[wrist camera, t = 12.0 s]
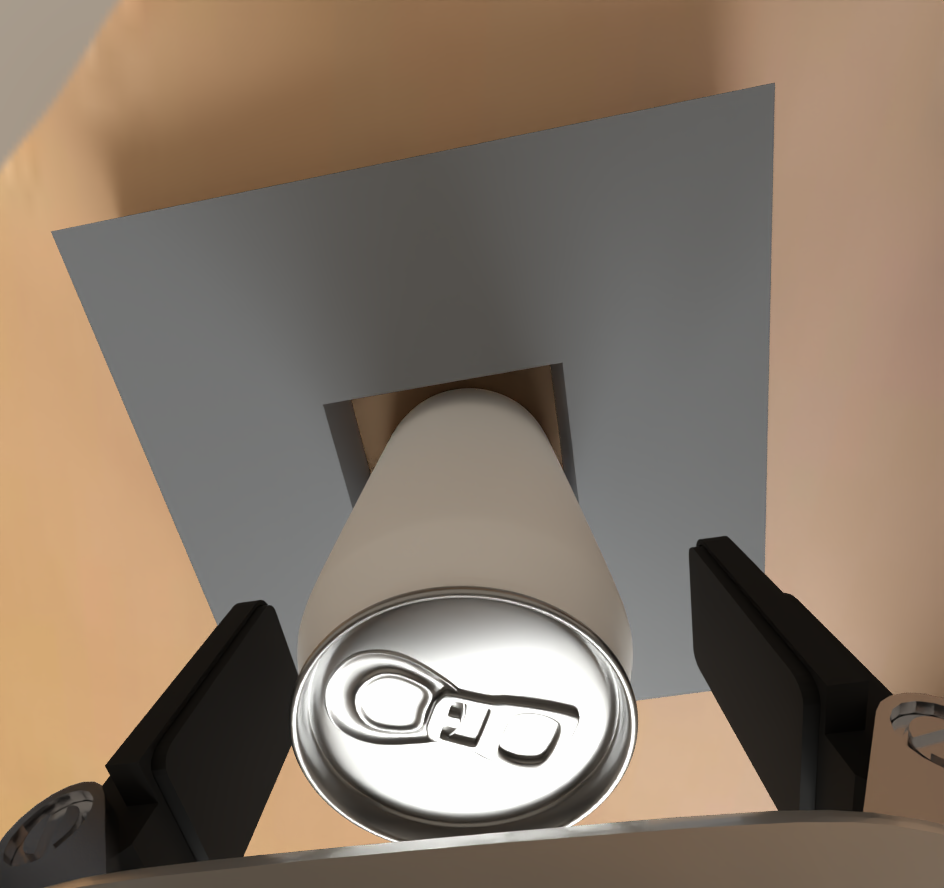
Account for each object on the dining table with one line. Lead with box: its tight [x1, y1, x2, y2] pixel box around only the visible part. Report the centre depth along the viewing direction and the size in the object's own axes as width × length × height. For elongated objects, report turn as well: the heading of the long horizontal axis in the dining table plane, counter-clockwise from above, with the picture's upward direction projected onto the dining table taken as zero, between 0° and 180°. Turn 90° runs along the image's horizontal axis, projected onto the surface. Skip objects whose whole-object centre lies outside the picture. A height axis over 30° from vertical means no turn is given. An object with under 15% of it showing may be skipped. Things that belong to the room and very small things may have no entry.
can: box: [289, 388, 638, 842], centre depth 13 cm, size 6×6×12 cm
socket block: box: [51, 83, 775, 746], centre depth 18 cm, size 20×20×3 cm
